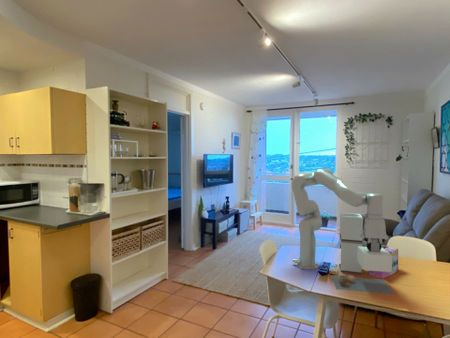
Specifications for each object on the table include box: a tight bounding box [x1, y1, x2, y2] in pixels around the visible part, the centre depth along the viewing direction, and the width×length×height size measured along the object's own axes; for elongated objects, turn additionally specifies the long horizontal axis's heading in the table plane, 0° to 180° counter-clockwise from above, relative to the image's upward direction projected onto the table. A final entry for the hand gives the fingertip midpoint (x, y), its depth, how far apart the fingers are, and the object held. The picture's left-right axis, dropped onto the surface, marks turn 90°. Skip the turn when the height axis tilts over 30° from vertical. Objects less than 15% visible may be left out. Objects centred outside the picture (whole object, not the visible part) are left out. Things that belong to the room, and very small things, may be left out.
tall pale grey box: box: [338, 212, 364, 275], centre depth 169 cm, size 11×11×35 cm
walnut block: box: [339, 275, 349, 287], centre depth 150 cm, size 4×4×4 cm
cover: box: [357, 239, 392, 272], centre depth 148 cm, size 13×13×13 cm
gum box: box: [367, 245, 399, 280], centre depth 167 cm, size 24×8×14 cm, turn 127°
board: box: [331, 275, 395, 295], centre depth 150 cm, size 28×16×1 cm, turn 79°
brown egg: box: [346, 274, 356, 283], centre depth 154 cm, size 4×4×3 cm
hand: (373, 249), depth 148 cm, fingers closed on cover, 4 cm apart
